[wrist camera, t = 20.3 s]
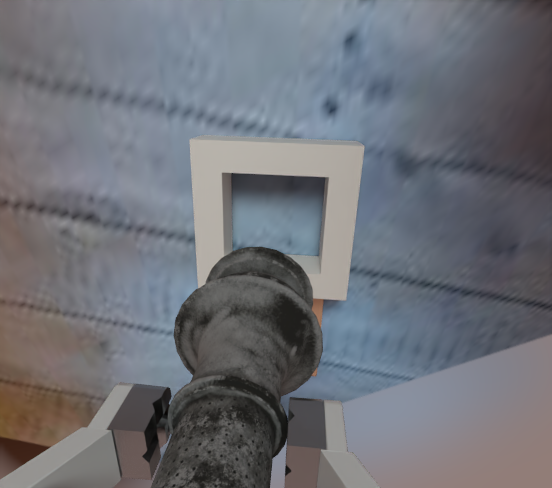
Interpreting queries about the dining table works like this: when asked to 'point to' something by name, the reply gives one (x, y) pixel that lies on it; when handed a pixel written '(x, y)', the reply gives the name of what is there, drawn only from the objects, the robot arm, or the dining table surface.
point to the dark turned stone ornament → (239, 370)
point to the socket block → (278, 161)
